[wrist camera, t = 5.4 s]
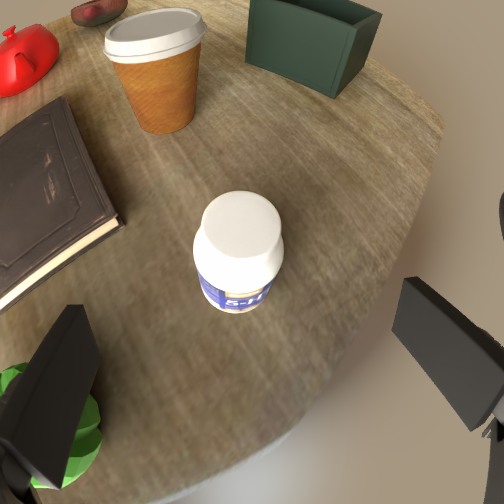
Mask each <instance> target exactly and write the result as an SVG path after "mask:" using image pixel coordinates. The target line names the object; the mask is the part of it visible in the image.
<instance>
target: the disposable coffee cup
mask: <svg viewBox="0 0 504 504" xmlns="http://www.w3.org/2000/svg"><path fill="white" fill-rule="evenodd" d="M206 31H207V25H206V24H205V22H203V20H202V16H201V14H200V13H199V12H198V11H196V10H193V9H190V8H181V7H168V8H159V9H153V10H149V11H144V12H141V13H138V14H135V15H132V16H129V17H127V18H125V19H123V20H121V21H119V22H117V23H116V24H114V25H113V26H112V27H111V28H110V29H109V30H108V31H107V32H106V35H105V43H104V45H103V52H104V53H105V54H106V55H107V56H108V57H109V59H110V60H112V63H113V65H114V68H115V70H116V72H117V74H118V77H119V79H120V81H121V84H122V86H123V88H124V91H125V93H126V95H127V97H128V100H129V102H130V104H131V106H132V109H133V111H134V113H135V115H136V117H137V119H138V122H139V124H140V126H141V127H142V129H143V130H145V131H147V132H149V133H153V134H167V133H171V132H175V131H177V130H180V129H181V128H183V127H185V126H186V125H188V124H189V123H190V122H191V120H192V119H193V117H194V114H195V100H196V88H197V77H198V67H199V58H200V50H201V41H202V40H203V37H204V35H205V33H206Z"/></svg>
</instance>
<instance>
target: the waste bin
mask: <svg viewBox="0 0 504 504" xmlns="http://www.w3.org/2000/svg"><path fill="white" fill-rule="evenodd" d="M381 17H382V14H381V13H379V12H377V11H374V10H372V9H370V8H367V7H365V6H362V5H360V4H357V3H355V2H352V1H349V0H250V8H249V19H248V31H247V44H246V56H245V62H246V63H249V64H252V65H255V66H258V67H260V68H263V69H266V70H269V71H271V72H274V73H276V74H279V75H281V76H284V77H286V78H289V79H291V80H293V81H296V82H298V83H300V84H303V85H305V86H307V87H309V88H312V89H314V90H316V91H318V92H320V93H322V94H325V95H327V96H329V97H331V98H333V99H335V98H336V97H337V95H338V94H339V93H340V92H341V91H342V90H343V89H344V88H345V87H346V85H347V84H348V83H349V82H350V81H351V80H352V79H353V78H354V77H355V76H356V75H357V73H358V72H359V71H360V70H361V69H362V68H363V67H364V64H365V61H366V59H367V56H368V53H369V51H370V48H371V45H372V42H373V40H374V37H375V34H376V31H377V29H378V26H379V23H380V20H381Z"/></svg>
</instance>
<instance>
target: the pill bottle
mask: <svg viewBox="0 0 504 504" xmlns="http://www.w3.org/2000/svg"><path fill="white" fill-rule="evenodd" d="M193 253H194V260H195V264H196V268H197V272H198V276H199V280H200V284H201V287H202V290H203V293H204V294H205V296H206V298H207V299H208V300H209V302H210V303H211V304H213V305H214V306H215V307H217V308H218V309H220V310H223V311H225V312H230V313H242V312H246V311H249V310H251V309H253V308H255V307H257V306H258V305H259V304H260V303H261V302H262V301H263V300H264V299H265V297H266V296H267V294H268V292H269V290H270V288H271V286H272V284H273V282H274V280H275V278H276V275H277V273H278V271H279V269H280V267H281V264H282V261H283V256H284V245H283V240H282V237H281V219H280V216H279V214H278V212H277V210H276V208H275V207H274V206H273V204H271V202H269V201H268V200H267V199H266V198H264V197H262V196H261V195H259V194H256V193H253V192H249V191H232V192H228V193H225V194H223V195H220V196H219V197H217V198H216V199H214V200H213V201H212V202H211V203H210V204H209V205H208V207H207V208H206V210H205V212H204V214H203V217H202V221H201V226H200V228H199V230H198V231H197V234H196V236H195V240H194V246H193Z"/></svg>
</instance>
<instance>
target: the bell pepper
mask: <svg viewBox="0 0 504 504" xmlns="http://www.w3.org/2000/svg"><path fill="white" fill-rule="evenodd" d="M28 364H29V363H21V364H17V365H14V366H11V367H9V368H7V369H6V370H4V371H3V373H0V398H1V396H2V394H3V395H4V390H5V389H6V387H7V385H8V383H9V382H10V381H11V380H12V379H13V378H14V377H15V376H16V375H17V374H18V373H23V372H24V370H25V369H26V367H27V365H28ZM100 421H101V420H100V415H99V410H98V404H97V402H96V401H95V399H94V398H93V397H92V396H91V395H90V393H89V395H88V398H87V401H86V404H85V407H84V410H83V413H82V416H81V419H80V422H79V426H78V429H77V432H76V435H75V439H74V442H73V446H72V449H71V453H70V457H69V460H68V464H67V468H66V472H65V476H64V480H63V484H62V488H63V487H65V486H66V485H68V484H70V483H71V482H73V481H74V480H76V479H77V478H78V477H79V476H80V475H81V474H83V473H84V472H85V471H86V470H87V469H88V468H89V466H90V465H91V463H92V462H93V461H94V459H95V457H96V456H97V454H98V452H99V450H100V446H101V443H102V440H103V435H102V433H101V432H100V431H99V429H98V428H97V426H98V424H99V422H100ZM30 483H31V484H32V485H33V486H34V488H50V487H47V486H44V485H41V484H40V483H39V482H38V481H37V480H36V479H35V478H33V477H32V479H31V482H30Z"/></svg>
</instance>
